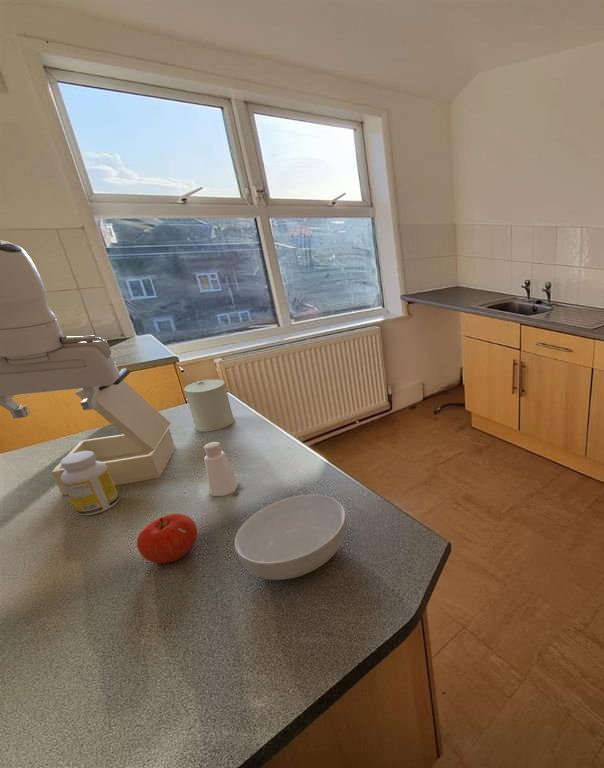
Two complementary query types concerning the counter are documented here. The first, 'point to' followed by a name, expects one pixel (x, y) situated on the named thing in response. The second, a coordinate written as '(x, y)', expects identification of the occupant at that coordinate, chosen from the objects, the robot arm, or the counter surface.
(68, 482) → the pill bottle
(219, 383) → the can
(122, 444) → the cream open box
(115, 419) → the box lid
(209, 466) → the salt shaker
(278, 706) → the counter surface
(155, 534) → the apple
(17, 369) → the robot arm
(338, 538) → the cereal bowl
